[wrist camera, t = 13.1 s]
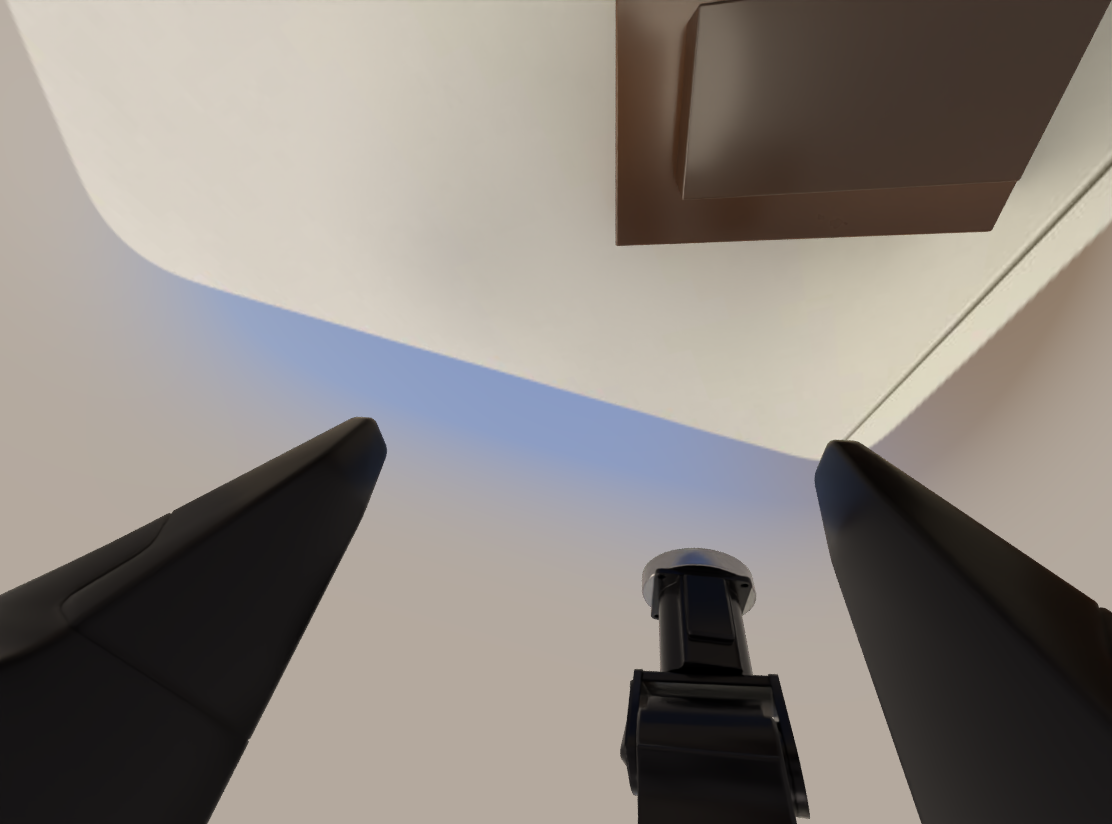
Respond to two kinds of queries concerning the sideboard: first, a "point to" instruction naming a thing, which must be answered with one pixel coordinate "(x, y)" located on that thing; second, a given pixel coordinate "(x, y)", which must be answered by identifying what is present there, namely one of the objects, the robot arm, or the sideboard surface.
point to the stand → (832, 113)
